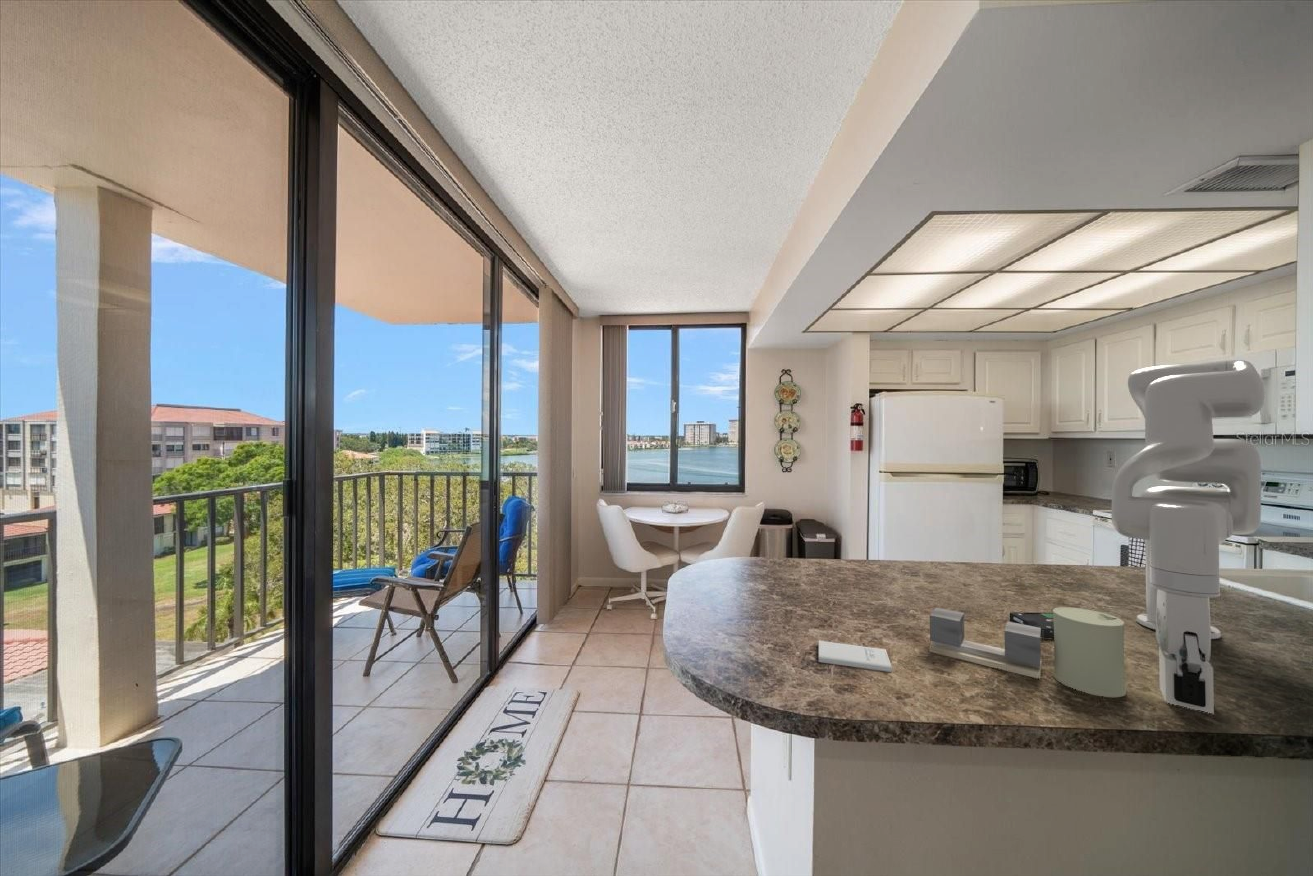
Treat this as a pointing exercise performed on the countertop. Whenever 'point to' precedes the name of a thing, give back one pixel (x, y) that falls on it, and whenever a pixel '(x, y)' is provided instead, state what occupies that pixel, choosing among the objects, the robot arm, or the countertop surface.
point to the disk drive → (1036, 621)
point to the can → (1089, 651)
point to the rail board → (1016, 656)
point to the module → (1167, 681)
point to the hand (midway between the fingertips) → (1185, 693)
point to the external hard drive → (854, 656)
